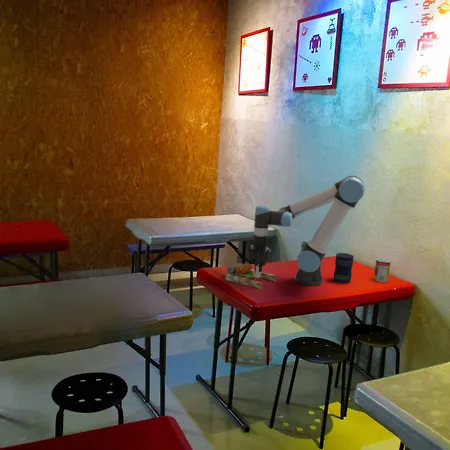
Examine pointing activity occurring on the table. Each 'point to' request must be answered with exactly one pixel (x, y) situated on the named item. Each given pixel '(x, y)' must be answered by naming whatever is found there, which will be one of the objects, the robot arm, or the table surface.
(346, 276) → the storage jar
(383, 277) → the canned food
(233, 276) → the open wooden tray
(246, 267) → the cheeseburger
